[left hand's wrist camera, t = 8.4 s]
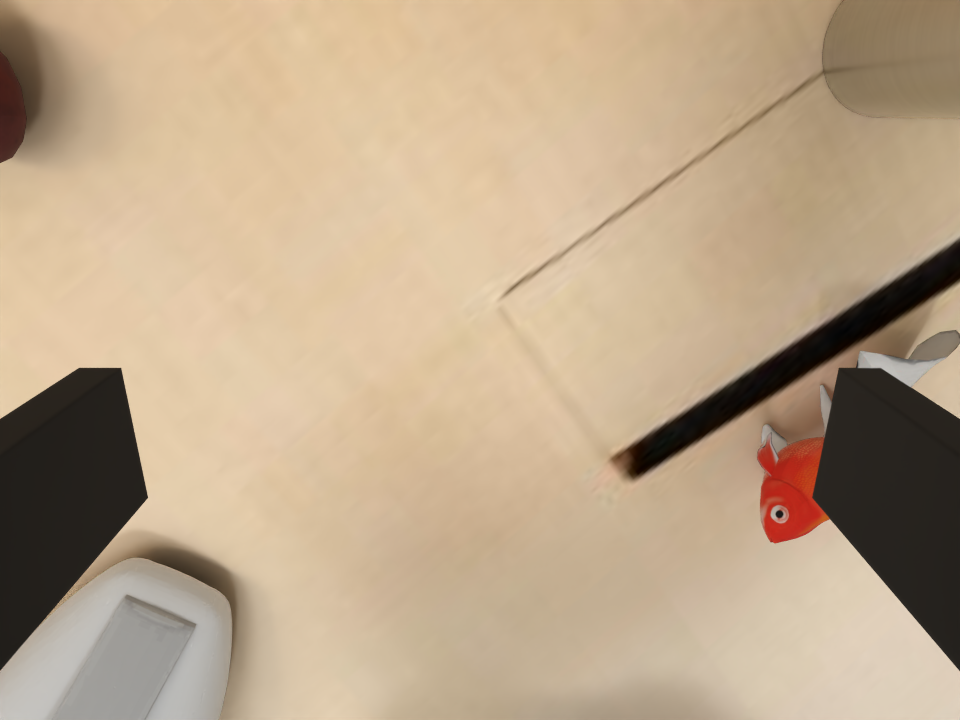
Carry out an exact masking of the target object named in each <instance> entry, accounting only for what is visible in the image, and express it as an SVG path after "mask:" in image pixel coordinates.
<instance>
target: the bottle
mask: <svg viewBox="0 0 960 720" xmlns="http://www.w3.org/2000/svg"><path fill="white" fill-rule="evenodd" d="M823 69H824V74H825V78H826V81H827V83H828V86H829V88H830V90H831V92H832V93H833V95H834V96H835V97H836V99H837V100H838V101H839V102H840V103H841V104H842V105H844V106H845V107H846V108H848V109H849V110H851V111H853V112H855V113H857V114H860V115H864V116H868V117H884V118H930V119H960V0H843V2H842V3H841V4H840V6H839V7H838V9H837V11H836V12H835V14H834V16H833V18H832V20H831V22H830V24H829V27H828V30H827V33H826V37H825V41H824V47H823Z"/></svg>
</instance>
